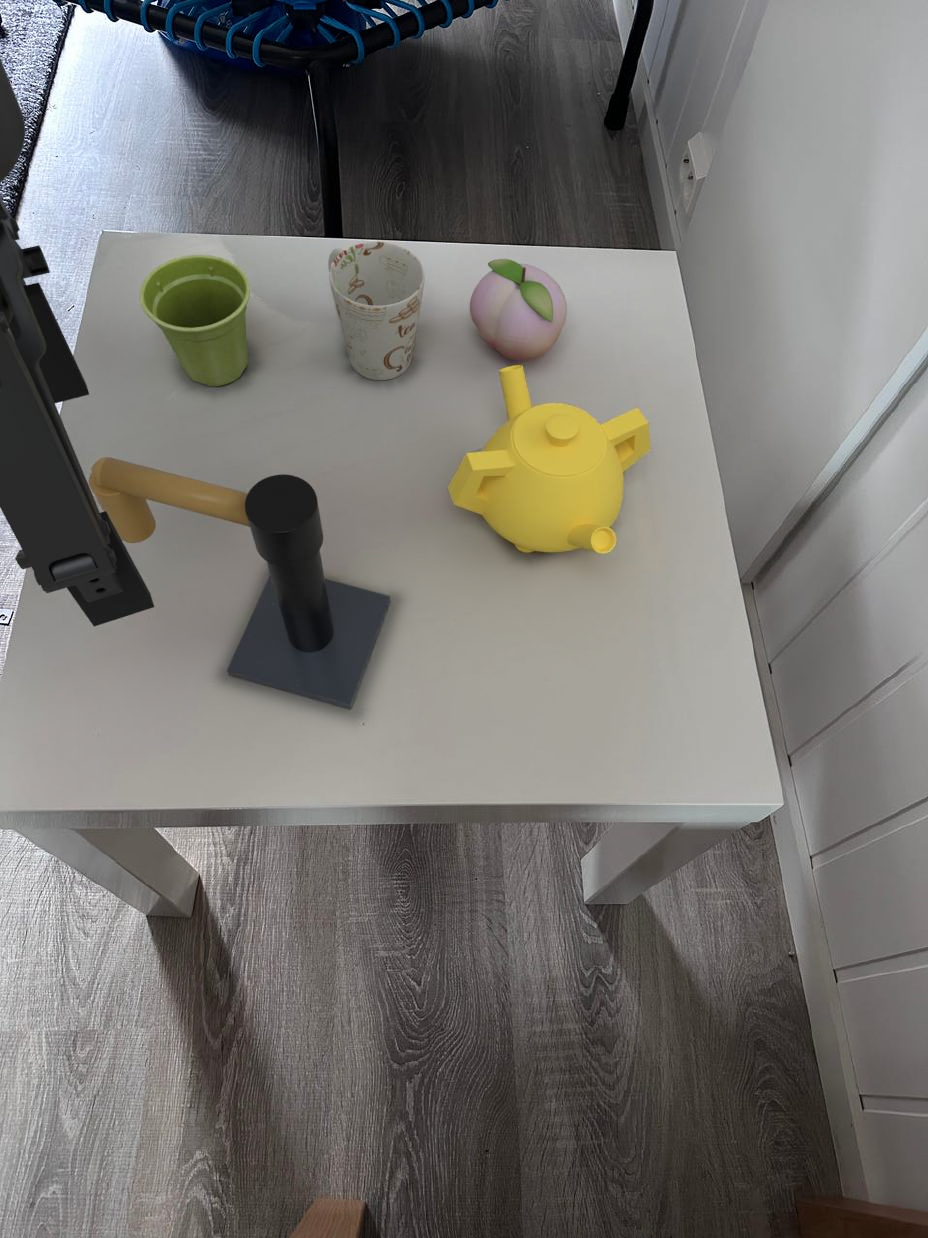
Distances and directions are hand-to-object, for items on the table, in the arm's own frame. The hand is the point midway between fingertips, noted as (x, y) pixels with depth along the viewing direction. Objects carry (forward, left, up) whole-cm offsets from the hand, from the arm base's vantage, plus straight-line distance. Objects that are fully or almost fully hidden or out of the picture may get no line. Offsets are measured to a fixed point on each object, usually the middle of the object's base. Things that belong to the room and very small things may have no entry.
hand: (90, 496), depth 41 cm
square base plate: (+6, +8, -27) cm, 28 cm away
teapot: (+21, +26, -27) cm, 43 cm away
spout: (0, +8, -16) cm, 18 cm away
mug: (0, +40, -27) cm, 48 cm away
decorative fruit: (+14, +44, -27) cm, 53 cm away
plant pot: (-13, +33, -27) cm, 45 cm away
